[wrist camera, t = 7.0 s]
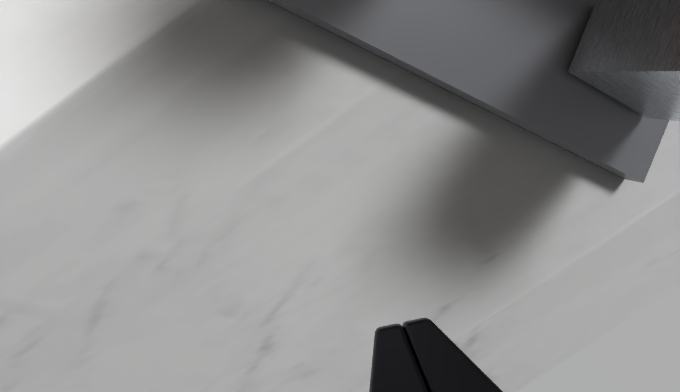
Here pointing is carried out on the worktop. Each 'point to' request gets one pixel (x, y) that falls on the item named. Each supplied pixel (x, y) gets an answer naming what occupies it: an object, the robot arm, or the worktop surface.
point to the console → (502, 66)
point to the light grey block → (634, 55)
